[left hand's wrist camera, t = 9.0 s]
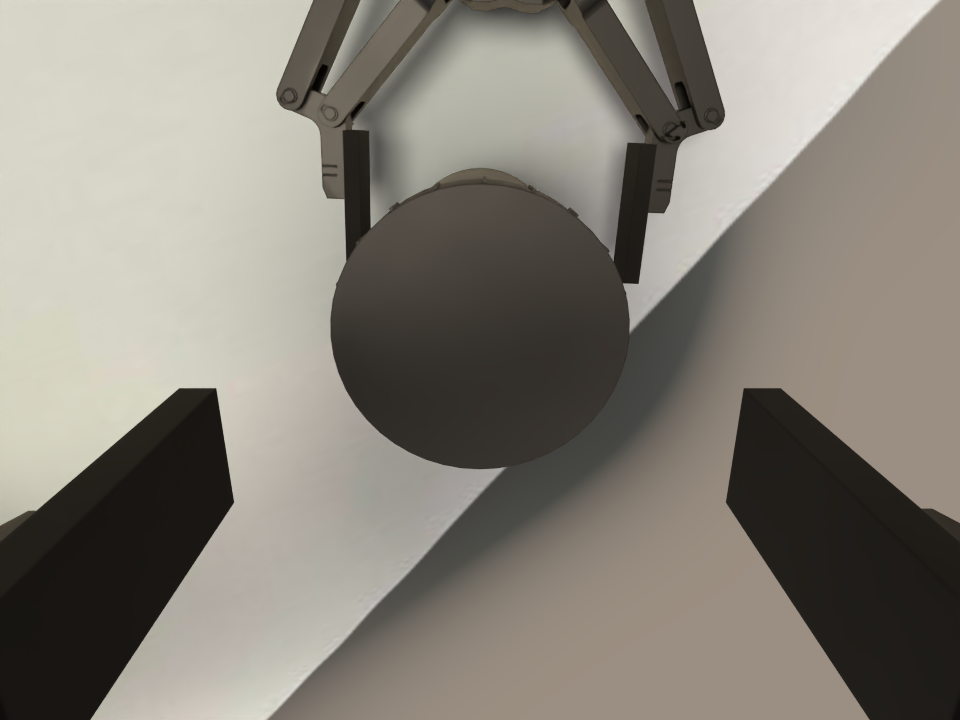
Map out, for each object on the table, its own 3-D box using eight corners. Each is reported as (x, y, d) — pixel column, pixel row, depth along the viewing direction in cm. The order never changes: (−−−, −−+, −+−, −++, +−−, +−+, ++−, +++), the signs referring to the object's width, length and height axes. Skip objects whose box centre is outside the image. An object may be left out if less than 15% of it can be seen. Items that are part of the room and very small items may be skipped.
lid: (370, 456, 24) (360, 484, 22) (316, 197, 21) (299, 204, 19) (623, 427, 24) (636, 453, 22) (609, 159, 20) (623, 162, 18)
